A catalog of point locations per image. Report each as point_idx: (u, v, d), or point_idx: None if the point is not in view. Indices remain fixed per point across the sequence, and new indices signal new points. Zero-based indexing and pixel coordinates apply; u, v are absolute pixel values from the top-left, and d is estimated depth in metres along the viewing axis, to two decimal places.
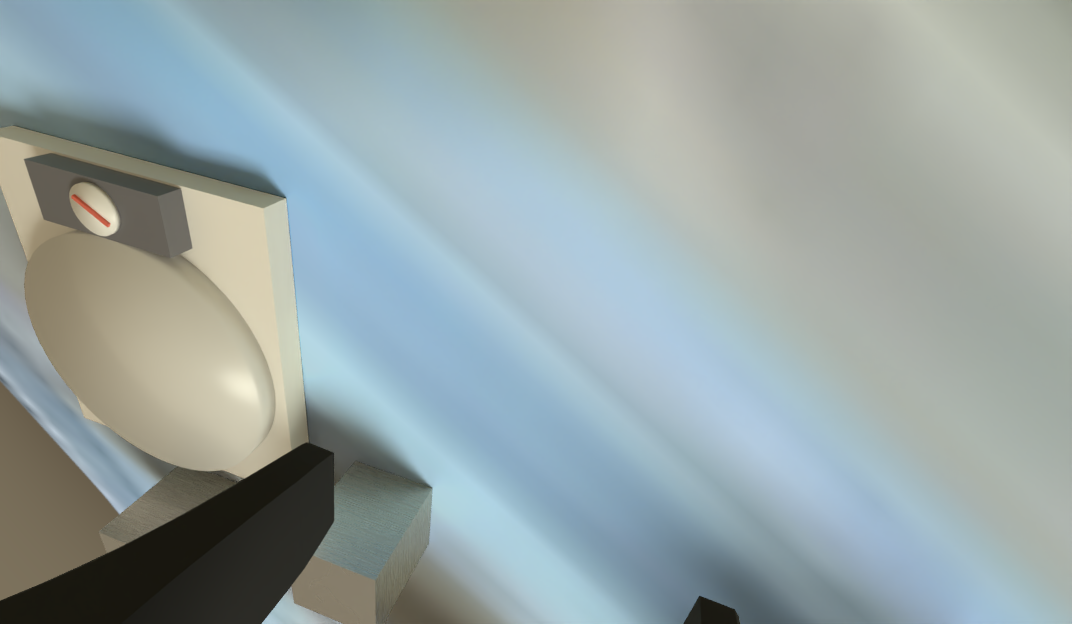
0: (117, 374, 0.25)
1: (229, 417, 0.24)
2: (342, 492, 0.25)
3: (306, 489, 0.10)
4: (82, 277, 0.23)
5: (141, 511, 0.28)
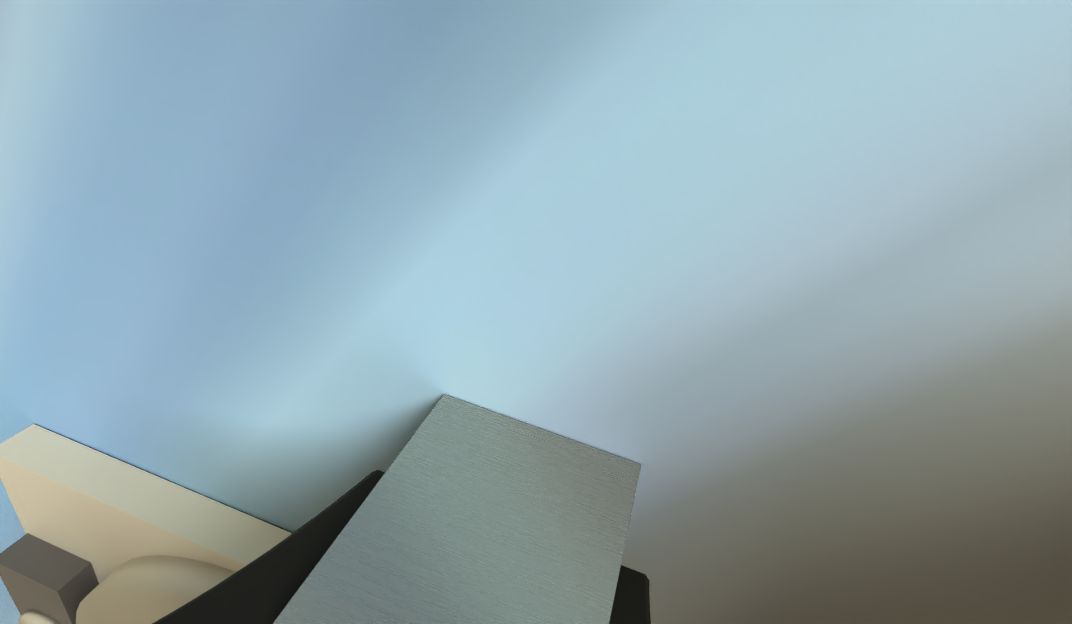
0: None
1: None
2: None
3: None
4: None
5: None
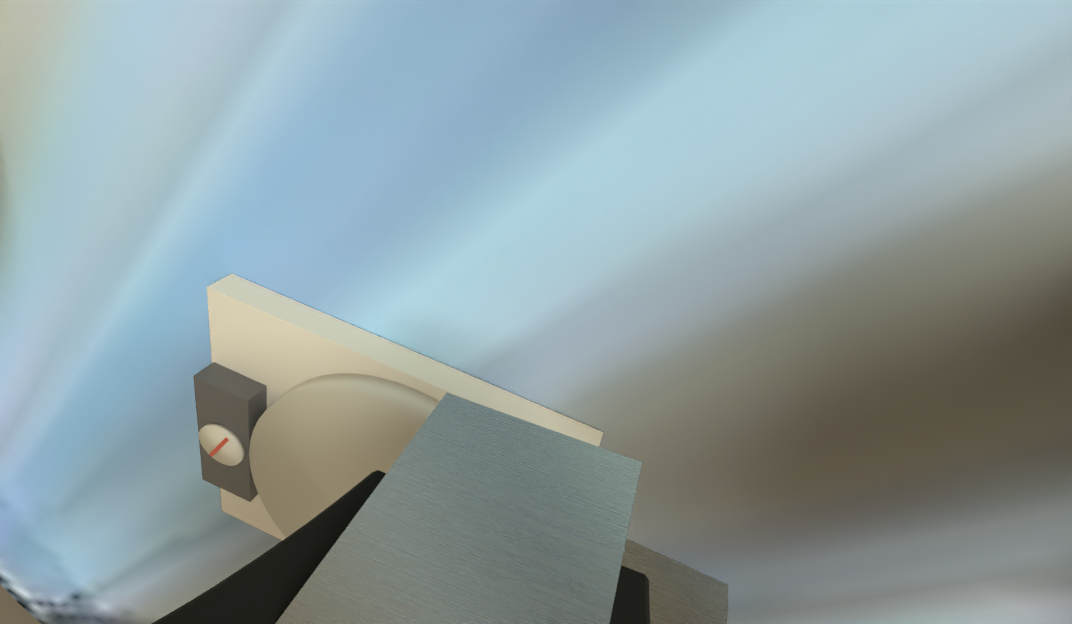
0: None
1: None
2: None
3: None
4: (296, 507, 0.23)
5: None
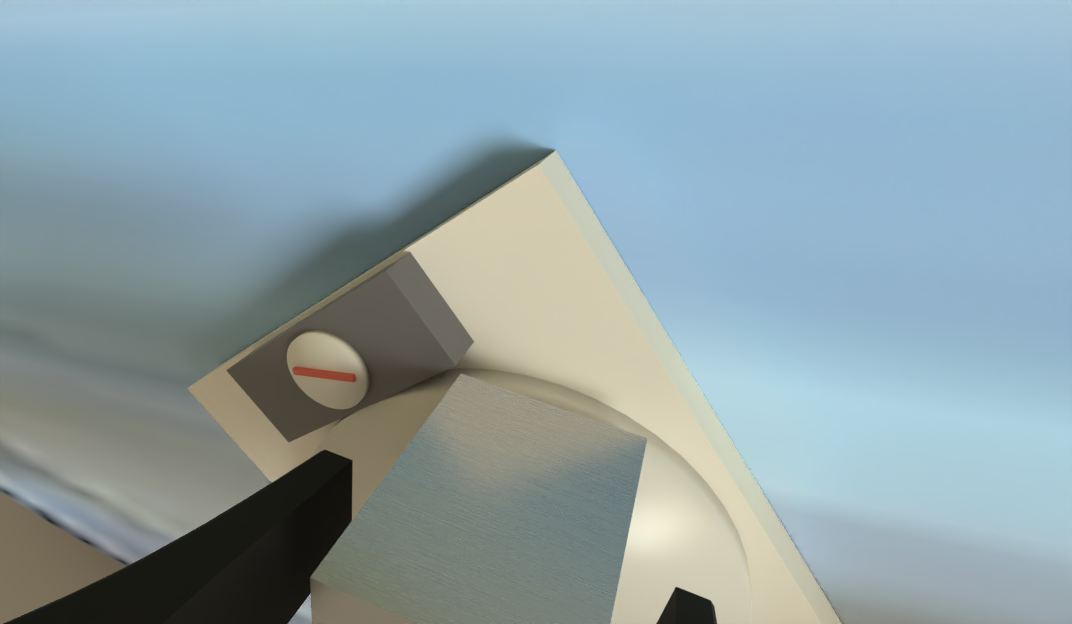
0: None
1: None
2: None
3: (326, 497, 0.10)
4: (369, 495, 0.15)
5: None
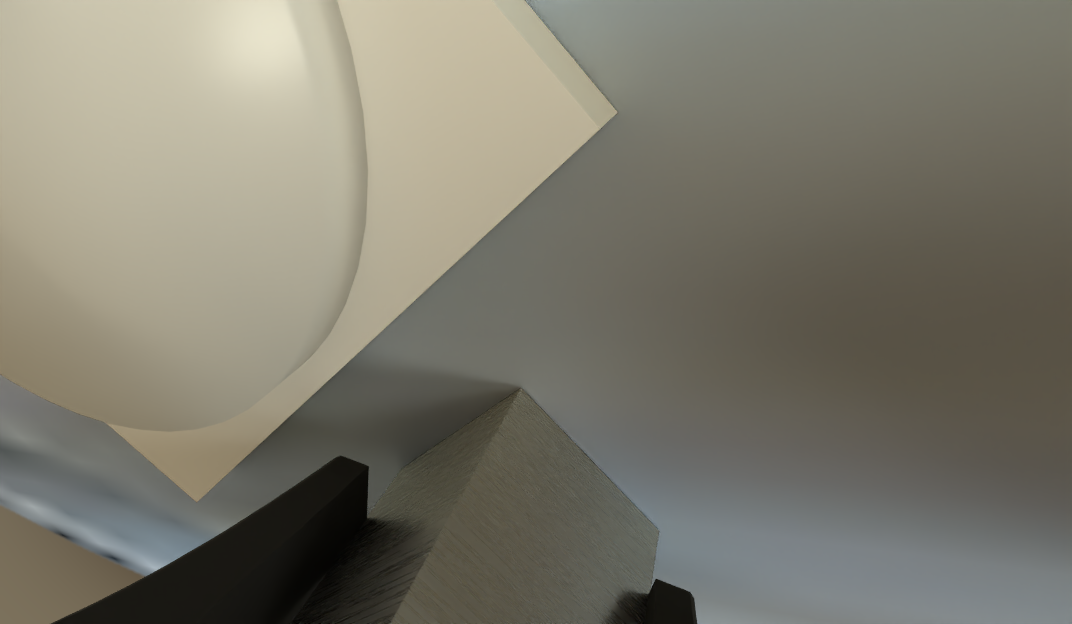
0: (5, 223, 0.09)
1: None
2: None
3: (343, 504, 0.10)
4: None
5: (326, 591, 0.09)
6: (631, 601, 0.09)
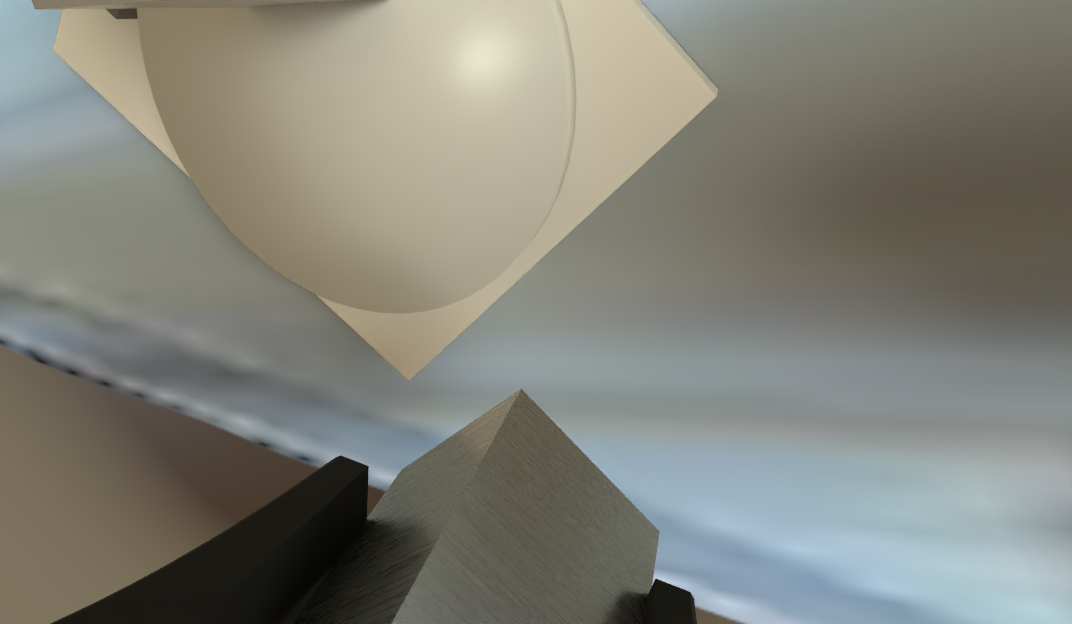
0: (340, 177, 0.15)
1: None
2: None
3: (342, 504, 0.10)
4: (195, 49, 0.15)
5: (327, 592, 0.09)
6: (631, 602, 0.09)
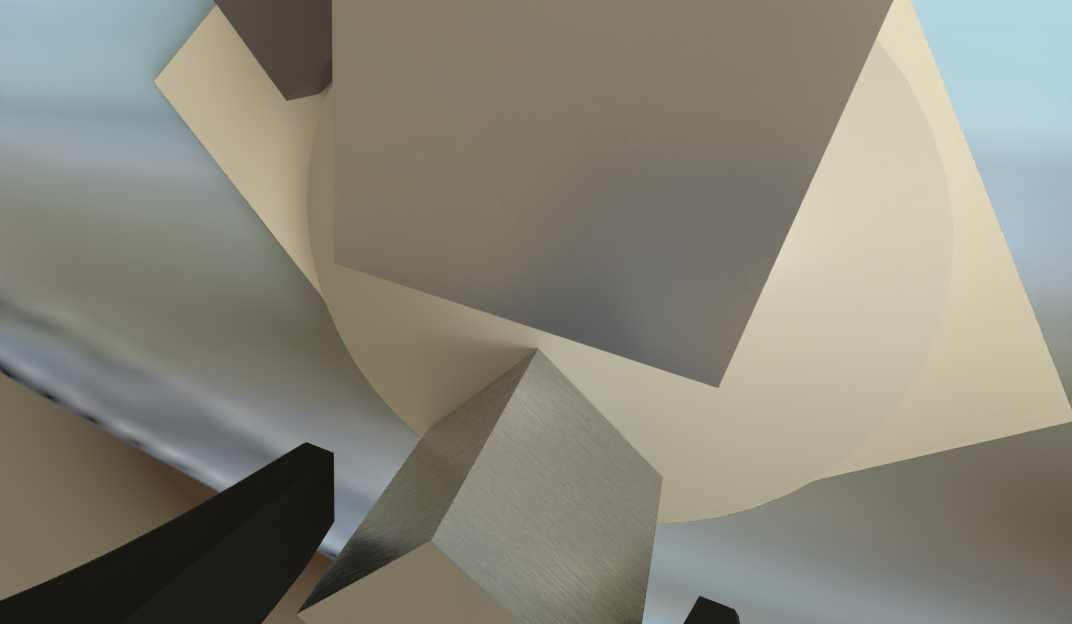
0: None
1: (845, 254, 0.09)
2: None
3: (306, 489, 0.10)
4: None
5: (371, 524, 0.11)
6: (639, 531, 0.11)
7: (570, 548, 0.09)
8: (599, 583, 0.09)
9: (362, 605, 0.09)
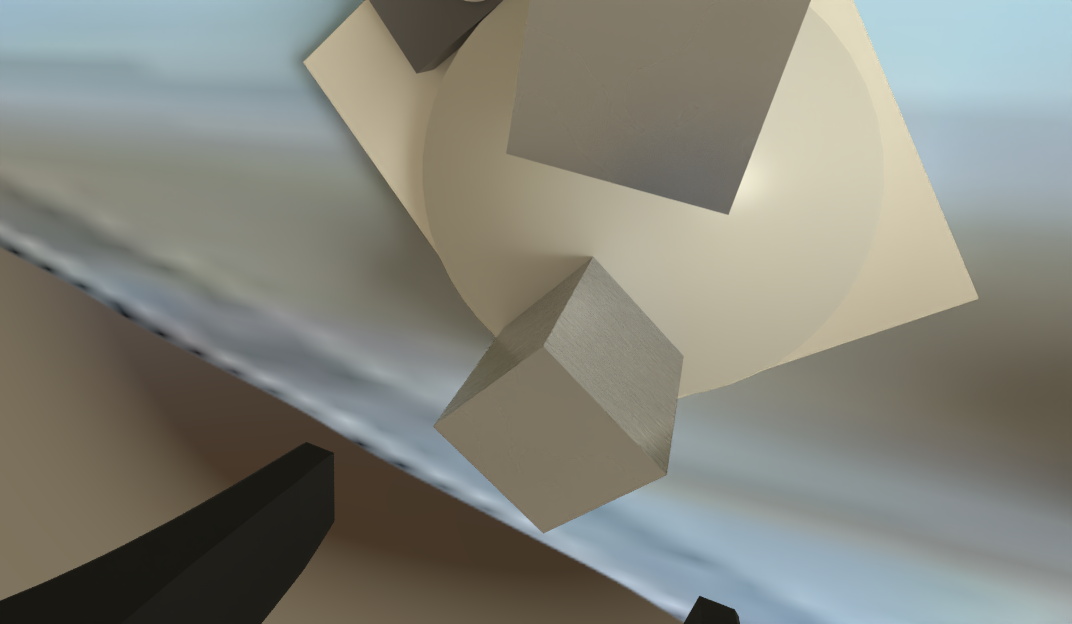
0: None
1: (813, 174, 0.13)
2: None
3: (306, 489, 0.10)
4: (494, 125, 0.15)
5: (477, 375, 0.15)
6: (668, 381, 0.15)
7: (625, 376, 0.14)
8: (644, 400, 0.14)
9: (486, 409, 0.13)
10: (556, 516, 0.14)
